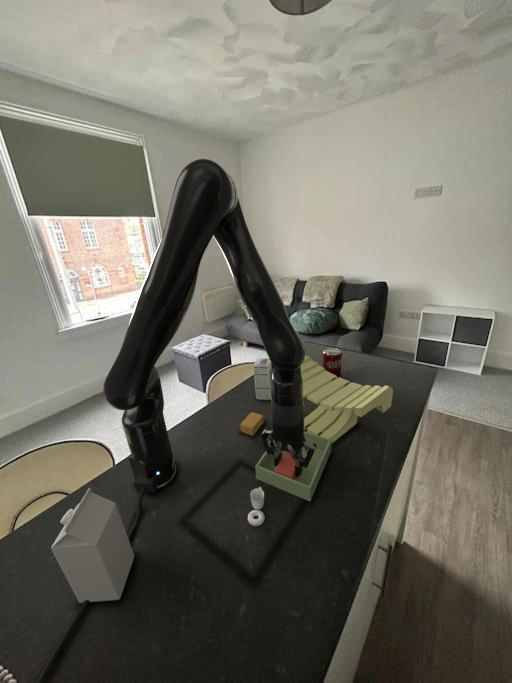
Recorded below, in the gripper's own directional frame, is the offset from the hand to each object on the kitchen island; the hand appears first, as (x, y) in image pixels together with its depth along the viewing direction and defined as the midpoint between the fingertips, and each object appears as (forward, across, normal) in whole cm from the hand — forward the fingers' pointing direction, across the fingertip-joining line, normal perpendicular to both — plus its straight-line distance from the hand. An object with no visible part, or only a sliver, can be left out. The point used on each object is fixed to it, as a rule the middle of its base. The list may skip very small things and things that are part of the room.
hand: (288, 470), depth 70 cm
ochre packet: (+2, -18, +12) cm, 22 cm away
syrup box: (+2, -23, +30) cm, 38 cm away
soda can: (+2, -4, +53) cm, 53 cm away
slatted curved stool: (+2, +3, +24) cm, 24 cm away
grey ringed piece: (+3, -5, -13) cm, 14 cm away
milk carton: (+2, -21, -36) cm, 42 cm away
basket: (+2, 0, +4) cm, 5 cm away
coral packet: (+1, 0, 0) cm, 1 cm away
